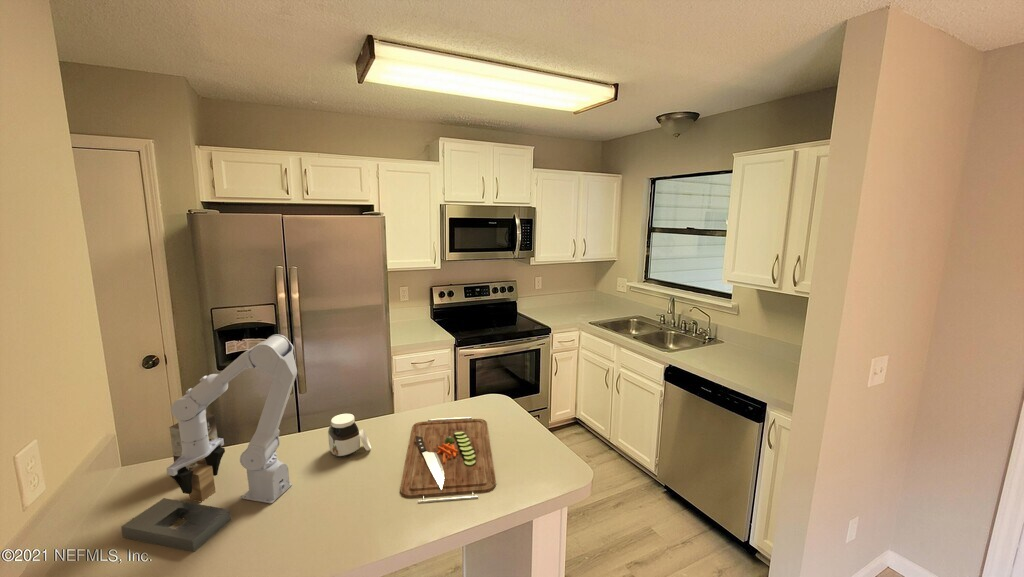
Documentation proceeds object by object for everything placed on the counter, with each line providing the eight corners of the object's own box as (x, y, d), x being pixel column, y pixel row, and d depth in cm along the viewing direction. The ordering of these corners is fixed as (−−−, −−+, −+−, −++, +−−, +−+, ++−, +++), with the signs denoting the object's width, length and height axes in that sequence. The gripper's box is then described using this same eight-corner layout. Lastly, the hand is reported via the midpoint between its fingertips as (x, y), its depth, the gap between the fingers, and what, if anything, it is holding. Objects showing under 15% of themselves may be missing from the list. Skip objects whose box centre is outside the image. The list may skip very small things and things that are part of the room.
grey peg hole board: (231, 520, 104) (230, 509, 103) (194, 551, 94) (192, 540, 93) (165, 508, 107) (163, 498, 107) (123, 537, 98) (121, 526, 97)
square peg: (215, 492, 114) (212, 465, 112) (202, 502, 110) (198, 474, 108) (203, 490, 114) (199, 464, 113) (189, 499, 111) (185, 472, 109)
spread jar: (325, 451, 134) (323, 417, 132) (358, 437, 142) (356, 405, 140) (344, 466, 126) (342, 431, 124) (377, 450, 134) (375, 417, 132)
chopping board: (497, 498, 113) (498, 488, 113) (397, 506, 110) (397, 496, 109) (485, 418, 157) (485, 410, 157) (413, 422, 154) (413, 414, 153)
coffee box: (193, 481, 118) (186, 429, 115) (175, 478, 119) (167, 427, 116) (221, 463, 127) (215, 414, 124) (204, 460, 128) (197, 411, 125)
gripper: (206, 422, 117) (212, 465, 119) (153, 450, 103) (161, 499, 105) (228, 424, 115) (233, 468, 118) (177, 454, 101) (184, 503, 104)
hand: (200, 483), depth 111 cm, fingers open, 7 cm apart
